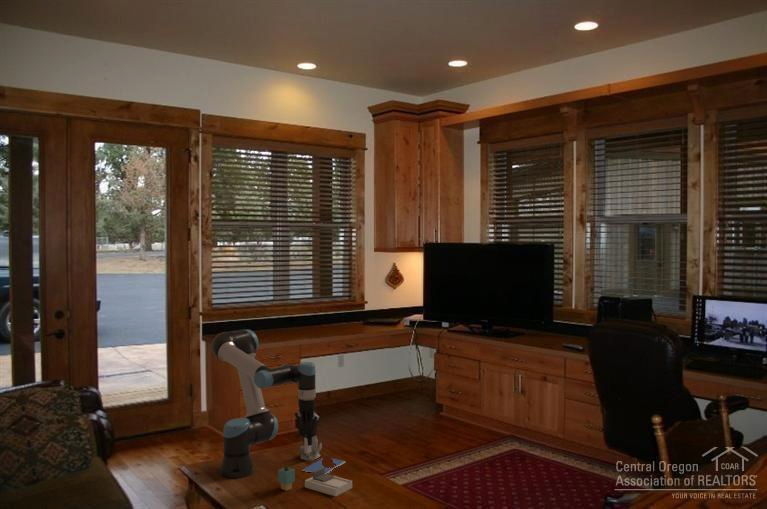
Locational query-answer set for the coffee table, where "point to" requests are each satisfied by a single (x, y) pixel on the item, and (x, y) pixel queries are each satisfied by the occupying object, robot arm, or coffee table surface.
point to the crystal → (314, 451)
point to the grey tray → (329, 485)
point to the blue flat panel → (319, 465)
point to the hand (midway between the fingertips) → (307, 452)
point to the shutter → (321, 475)
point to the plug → (286, 477)
